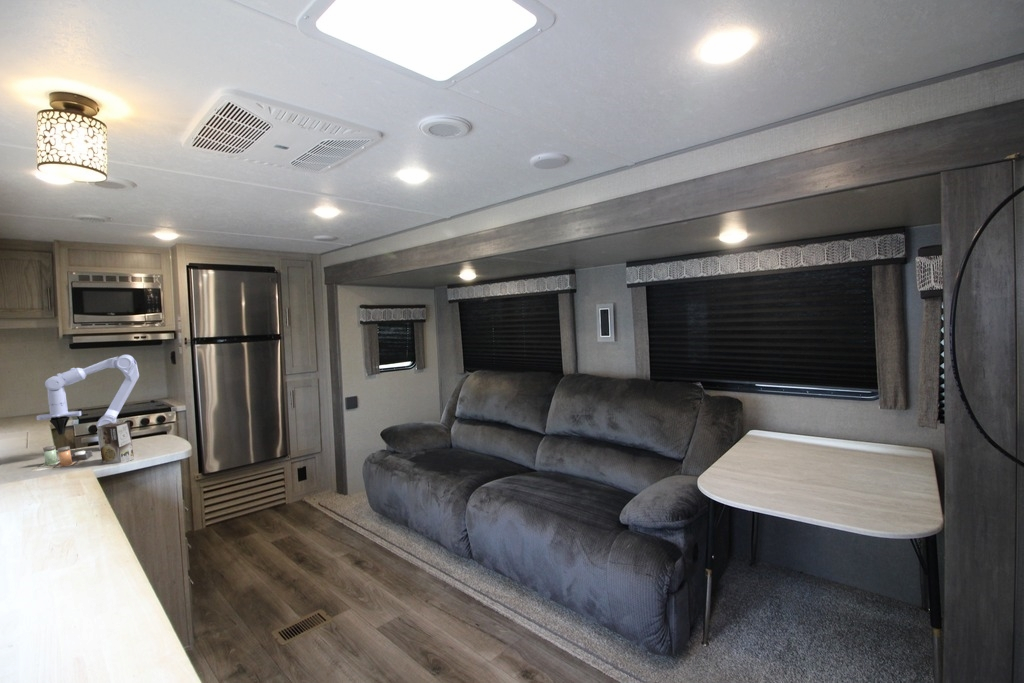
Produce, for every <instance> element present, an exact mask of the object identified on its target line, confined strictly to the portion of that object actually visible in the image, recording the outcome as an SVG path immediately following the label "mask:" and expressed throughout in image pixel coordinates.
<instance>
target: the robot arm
mask: <svg viewBox="0 0 1024 683" xmlns="http://www.w3.org/2000/svg"><path fill="white" fill-rule="evenodd" d="M108 368H109V369H116V368H117V369H118V370H120V371H121V372H122V374H123V375H124V377H125V378H124V380H123V382H122V383H121V385H120V387H119V389H118V391H117V392H116V394H115V396H114V398H113V399H112V401H111V403H110V405H109V407H108V408H107V410H106V412H105V413H104V415H102V416H101V417H100V418H99V419H98V421H97V422H96V428H97V427H99V426H102V425H105V424H108V423H118V422H117V421H118V415H119V414H120V412H121V411H122V408H123V406H124V405H125V403H126V401H127V399H128V398H129V396H130V394H131V393H132V391H133V389H134V387H135V385H136V383H137V381H138V380H139V377H140V373H139V369H138V368H139V367H138V362H137V361H136V359H135V358H134V357H133V356H132V355H130V354H122V355H120V356H115V357H111V358H107V359H105V360H101V361H99V362H98V363H94V364H91V365H90V366H87V367H85V368H84V367H83V368H81V367H76V368H75V367H72V368H70V369H69V370H67V371H64V372H60V373H56V375H53V376H51V377H49V378H47V379H46V380H45V382H44V386H45V388H46V390H47V402H48V407H49V413H47V414H39V415H36V421H41V420H49V422H50V424H51V425H53V427H54V429H55V430H56V431H57V433H58V435H64V434H65V432H66V428H67V424H68V422H69V420H70V418H71V417H81V416H82V410H77V411H75V410H74V411H69V408H68V401H67V394H66V390H65V386H70V385H73V384H75V383H78V382H81V381H84V380H85V379H86V377H87V375H88V376H89V375H91V374H94V373H97V372H99V371H102V370H105V369H108ZM97 434H98V430H97ZM97 441H98V448H99V450H100V443H99V436H98V435H97Z"/></svg>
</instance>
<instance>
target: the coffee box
mask: <svg viewBox="0 0 1024 683" xmlns="http://www.w3.org/2000/svg"><path fill="white" fill-rule="evenodd" d="M96 428H97V431H98V433H97V437H98V436H99V441H98V444H99V443H100V449H99V451H100V457H101V462H102V464H103V463H104V464H107V463H108V464H112V463H113V464H117V463H119V464H122V463H124V462H129V461H132V460H134V459H135V457H134V456H135V455H134V448H133V440H132V432H131V424H130V421H129V422H127V421H126V422H124V421H122V422H116V423H108V424H105V425H102V426H99V427H96Z"/></svg>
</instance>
